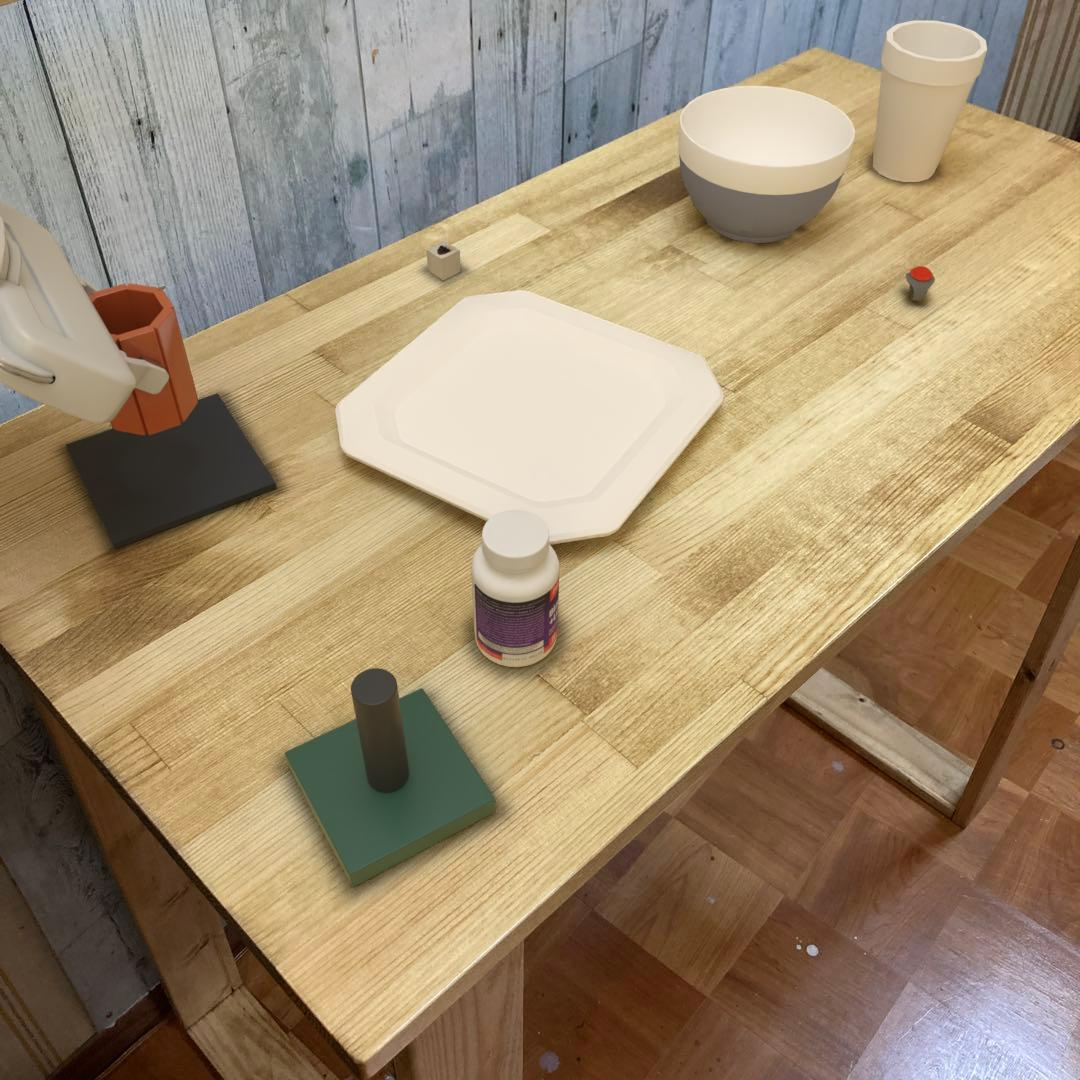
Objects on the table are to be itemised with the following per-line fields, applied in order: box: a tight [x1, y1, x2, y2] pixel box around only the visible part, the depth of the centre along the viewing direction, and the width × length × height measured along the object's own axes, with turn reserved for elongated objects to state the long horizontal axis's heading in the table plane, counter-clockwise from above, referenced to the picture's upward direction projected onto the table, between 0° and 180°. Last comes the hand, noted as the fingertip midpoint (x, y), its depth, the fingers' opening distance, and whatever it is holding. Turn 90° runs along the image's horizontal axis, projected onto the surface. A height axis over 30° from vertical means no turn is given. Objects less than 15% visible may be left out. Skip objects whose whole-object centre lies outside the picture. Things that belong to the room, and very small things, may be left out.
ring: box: [905, 265, 936, 302], centre depth 100 cm, size 2×3×3 cm
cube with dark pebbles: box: [426, 240, 462, 281], centre depth 102 cm, size 2×2×2 cm
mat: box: [65, 393, 277, 550], centre depth 84 cm, size 12×12×1 cm
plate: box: [334, 289, 725, 546], centre depth 88 cm, size 25×25×2 cm
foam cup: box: [872, 20, 988, 183], centre depth 112 cm, size 10×9×13 cm
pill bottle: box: [470, 510, 561, 668], centre depth 70 cm, size 5×5×10 cm
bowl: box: [677, 85, 856, 244], centre depth 106 cm, size 16×16×10 cm
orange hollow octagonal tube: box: [88, 283, 199, 436], centre depth 77 cm, size 6×6×8 cm
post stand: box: [284, 667, 496, 888], centre depth 62 cm, size 9×9×10 cm
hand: (143, 349), depth 77 cm, fingers closed on orange hollow octagonal tube, 6 cm apart
